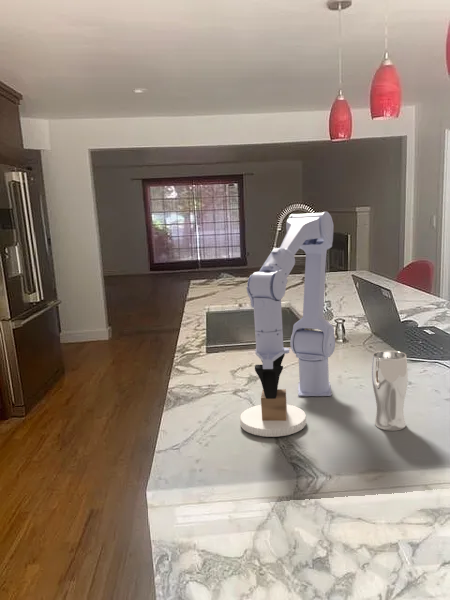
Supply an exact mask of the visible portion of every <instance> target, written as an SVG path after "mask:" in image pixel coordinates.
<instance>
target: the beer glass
mask: <svg viewBox="0 0 450 600" xmlns="http://www.w3.org/2000/svg"><path fill="white" fill-rule="evenodd" d="M371 355H372V359H371V360H372V361H371V384H372V389H373V393H374V398H375V399H374V400H375V405H376V414H375V419H374V426H375V427H377V428H378V429H380V430H383V431H388V432H397V431H402V430H403V429H405V428H406V425H407V424H406V418H405V414H404V407H405V401H406V400H405V399H406V394H407V390H408V389H407V387H408V380H409V375H408V374H409V373H408V370H409V369H408V361H407V360H408V359H407V354H406V353H404V352H403V351H398V350H391V349H390V350H378V351H374V352H373V353H372V354H371Z"/></svg>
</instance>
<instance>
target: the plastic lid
mask: <svg viewBox="0 0 450 600" xmlns="http://www.w3.org/2000/svg"><path fill="white" fill-rule="evenodd" d="M239 420H240V426H241V428H242V430H244V431H245V432H247V433H249V434H252V435H254V436H259V437H265V438H266V437H273V438H274V437H284V436H289V435H292V434H296V433H298V432H300V431H302V429H304V428H305V427H306V424H307V415H306V412H305V411H304V410H303V409H302V408H300V407H298V406H295V405H292V404H287V416H286V421H262V408H261V404H258V405H254V406H250V407H248V408H246V409H245V410H243V412H241V414H240V416H239Z"/></svg>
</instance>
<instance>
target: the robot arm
mask: <svg viewBox="0 0 450 600" xmlns="http://www.w3.org/2000/svg"><path fill="white" fill-rule="evenodd" d="M333 221H334V220H333V218H332V215H331V214H330V213H329V212H328V211H323V212H311V213H291V214H290V215H289V216H288V218H287V220H286V225H285V226H286V229H285V230H286V233H285V235H284V238H283V239H282V242H281V244H280V246H279V247H275V248H273V249H272V250H271V252H270V254H269V255H268V256H267V258H266V259H265V261H264V262H263V264H262V266H261V268H260V269H259V271H254V272H253V273H252V274H250V275H249V277H248V279H247V284H246V285H247V286H246V293H247V296H248V297H249V299H250V300H249V301H250V306H251V308H252V309H253V319H254V333H255V334H254V335H255V336H254V337H255V338H254V339H255V351H254V352H255V355H256V357H258V358H259V360H260V361H261V362H262V363H261V364H255V365H254V371H255V374H256V375H257V376H258V378H259V381H260V383H261V386H262V391H264V394H265V397H266V399H276V396H277V389H279V382H280V376H281V374H282V372H283V369H284V366H283V365H282V363H283V360H284V358H285V355H286V354H289V353H290V349H291V351H292V353H293V354H295V358H297V359H298V371H299V372H298V374H299V376H298V377H299V379H298V380H299V381H298V383H297V384H298V387H297V389H298V392H297V396H298V397H331V396H332V389H331V388H332V387H331V382H330V377H329V375H330V373H329V358H330V357H332V355H333V354H334V352H335V348H336V338H335V329H334V326H333V325H332V324H331V323H330V322H329V321H328V320H327V319H326V318H324V309H325V308H324V307H325V306H324V305H325V287H326V286H325V285H326V283H325V282H326V267H327V266H326V265H327V264H326V263H327V251H328V250H330V249H331V248H332V247H333V242H334V222H333ZM299 250H302V251H304V253H305V265H304V267H305V268H304V286H303V288H304V289H303V305H302V306H303V307H302V308H303V309H302V317H301V318H299V320H298V321H296V322H294V324H293V325H292V326H293V327H292V334H291V335H290V341H289V342H290V343H289V344H290V347H284V335H283V333H284V332H283V310H282V299H283V297H285V294H286V291H287V290H286V289H287V284H288V277H289V276H290V273H291V272H292V270H293V268H294V266H295V264H296V259H295V256H296V254H297V252H298V251H299ZM306 329H307V330H306ZM308 329H309V330H308ZM310 329H311V330H310Z"/></svg>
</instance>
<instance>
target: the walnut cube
mask: <svg viewBox="0 0 450 600" xmlns="http://www.w3.org/2000/svg"><path fill="white" fill-rule="evenodd" d="M260 395H261V397H260V405H261V408H262V421H286V416H287V405H288V403H287V390H286V388H285V389H284V388H283V389H279V388H278V389H277V396H276V399H266V397H265V394H264V391H263V390H262V392H261V394H260Z"/></svg>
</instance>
